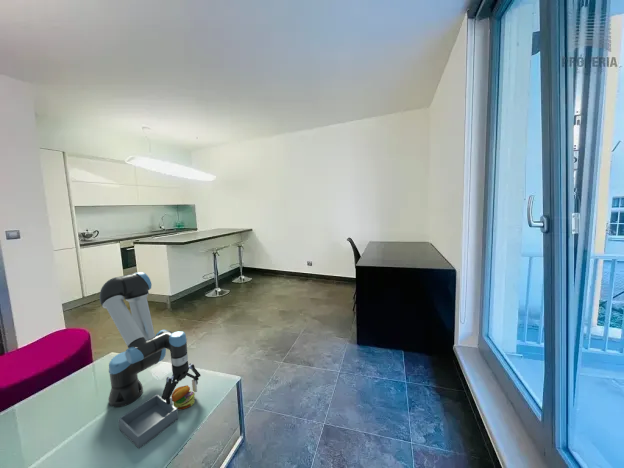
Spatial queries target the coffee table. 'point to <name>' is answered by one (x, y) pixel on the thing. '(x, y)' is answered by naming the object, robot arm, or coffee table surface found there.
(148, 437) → the bin
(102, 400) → the coffee table surface
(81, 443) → the coffee table surface
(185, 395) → the cheeseburger
